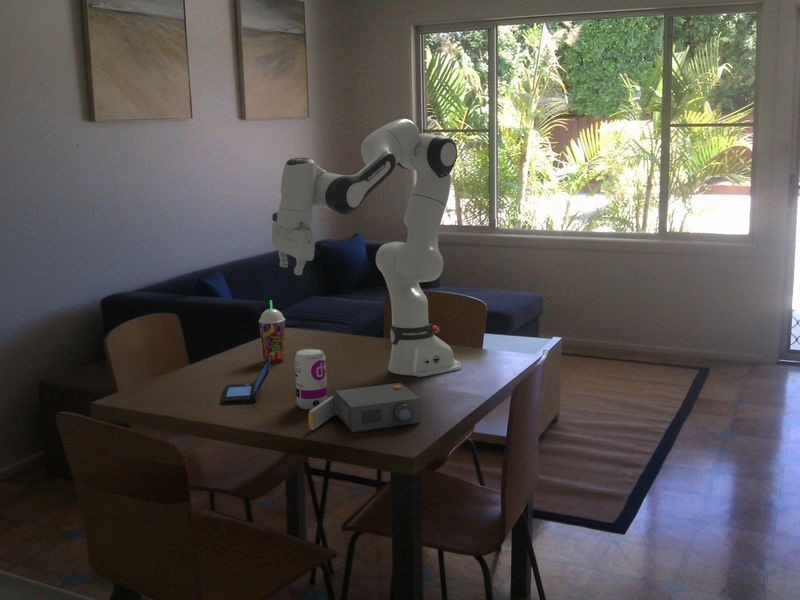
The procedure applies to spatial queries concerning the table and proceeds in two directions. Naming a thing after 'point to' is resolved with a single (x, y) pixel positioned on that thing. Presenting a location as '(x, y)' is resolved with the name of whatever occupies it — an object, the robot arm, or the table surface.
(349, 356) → the table surface
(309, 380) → the supplement can
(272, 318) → the smoothie
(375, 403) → the camera body
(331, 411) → the side door
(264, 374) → the handheld game console
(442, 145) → the robot arm
